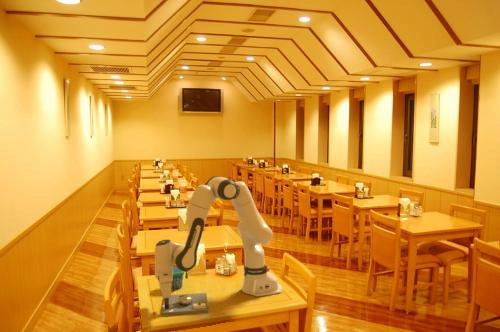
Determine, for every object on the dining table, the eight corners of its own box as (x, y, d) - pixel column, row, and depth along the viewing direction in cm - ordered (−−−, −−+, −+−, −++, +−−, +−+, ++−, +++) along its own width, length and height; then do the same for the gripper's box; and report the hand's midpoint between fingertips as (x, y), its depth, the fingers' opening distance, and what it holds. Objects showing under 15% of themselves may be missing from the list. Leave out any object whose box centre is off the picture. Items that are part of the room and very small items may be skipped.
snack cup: (184, 281, 238) (183, 264, 237) (191, 287, 230) (191, 270, 229) (158, 287, 230) (158, 270, 229) (165, 293, 221) (165, 275, 220)
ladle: (188, 298, 211) (187, 286, 210) (195, 302, 205) (194, 291, 205) (161, 306, 201) (161, 294, 201) (168, 311, 196) (167, 299, 195)
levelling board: (206, 295, 218) (206, 288, 218) (208, 313, 199) (207, 304, 198) (163, 298, 215) (163, 290, 215) (161, 316, 195) (160, 307, 195)
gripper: (155, 266, 209) (156, 292, 211) (159, 280, 190) (160, 309, 192) (167, 265, 211) (168, 290, 213) (173, 279, 192) (173, 307, 194)
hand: (164, 299), depth 202 cm, fingers closed
